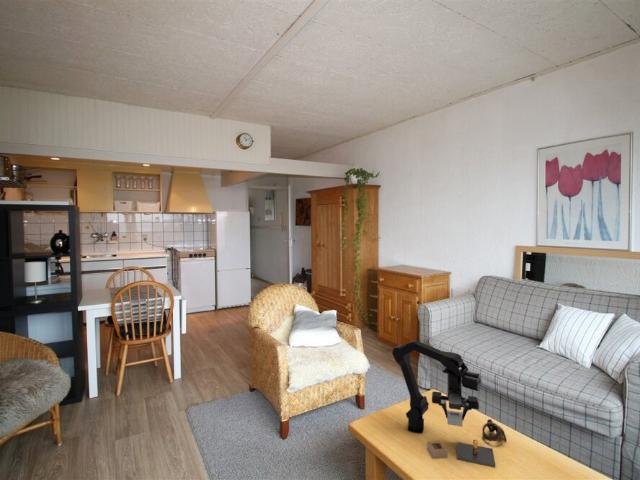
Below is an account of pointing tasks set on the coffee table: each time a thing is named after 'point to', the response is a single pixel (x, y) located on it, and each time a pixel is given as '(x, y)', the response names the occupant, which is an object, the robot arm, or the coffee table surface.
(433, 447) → the brown hollow square block
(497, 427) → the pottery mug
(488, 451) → the keeper
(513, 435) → the coffee table surface
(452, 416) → the grey square frame
